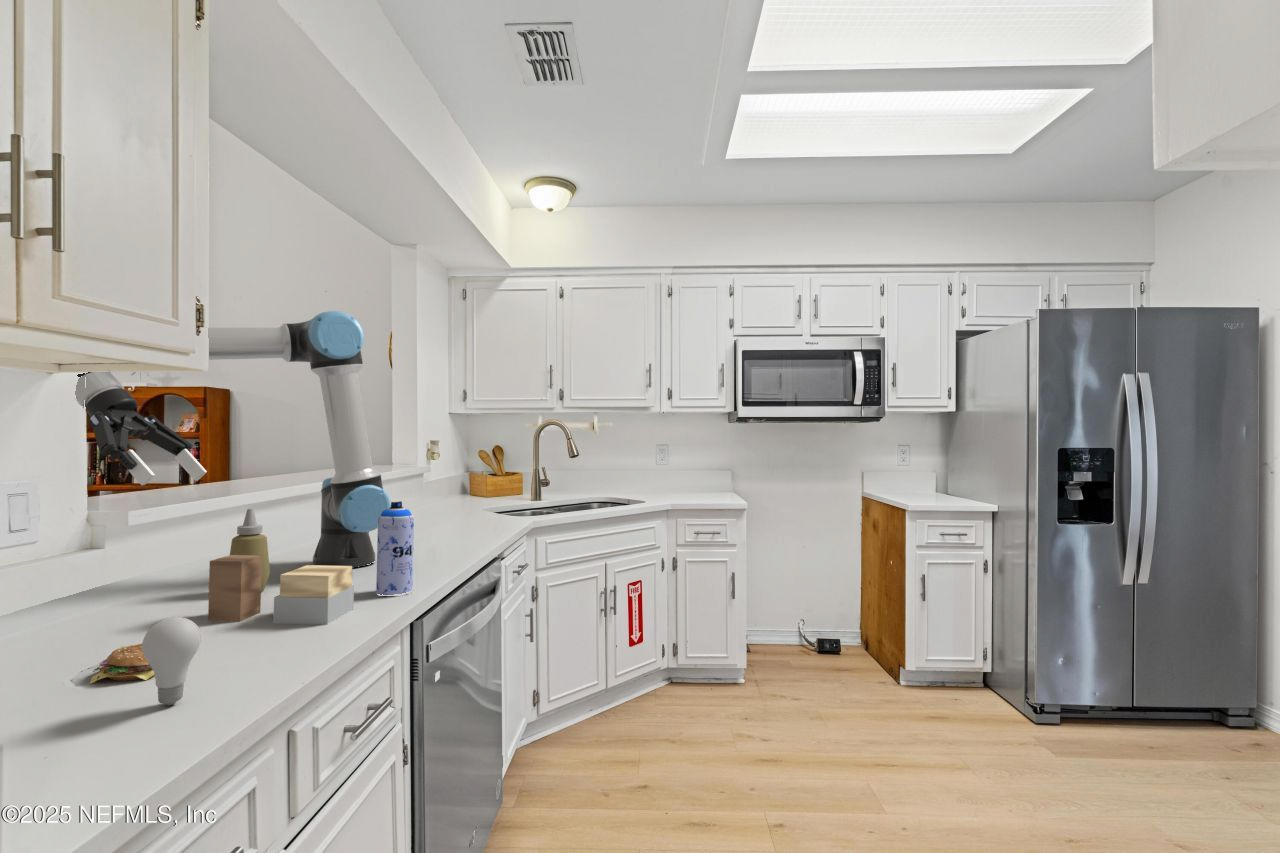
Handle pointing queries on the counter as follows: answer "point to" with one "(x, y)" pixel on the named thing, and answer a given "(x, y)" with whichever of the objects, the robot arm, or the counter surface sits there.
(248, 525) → the squeeze bottle
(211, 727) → the counter surface
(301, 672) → the counter surface
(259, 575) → the walnut block
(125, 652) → the hamburger
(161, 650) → the lightbulb
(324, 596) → the beech slab
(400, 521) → the aerosol can
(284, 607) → the grey slab
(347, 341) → the robot arm
